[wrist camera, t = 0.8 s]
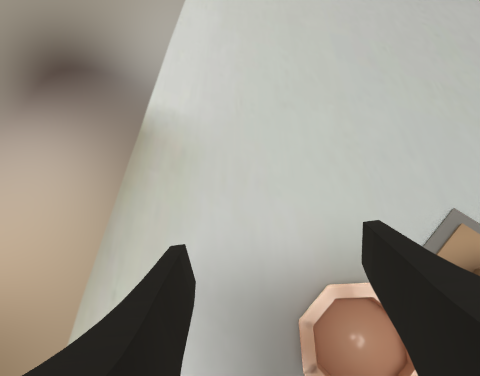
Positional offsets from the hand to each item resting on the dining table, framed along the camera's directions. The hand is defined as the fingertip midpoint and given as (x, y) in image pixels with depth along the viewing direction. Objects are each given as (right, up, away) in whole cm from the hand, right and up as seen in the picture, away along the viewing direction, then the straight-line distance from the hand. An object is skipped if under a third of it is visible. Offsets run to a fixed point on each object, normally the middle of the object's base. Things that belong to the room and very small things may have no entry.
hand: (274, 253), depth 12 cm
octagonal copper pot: (+8, -9, +12) cm, 17 cm away
